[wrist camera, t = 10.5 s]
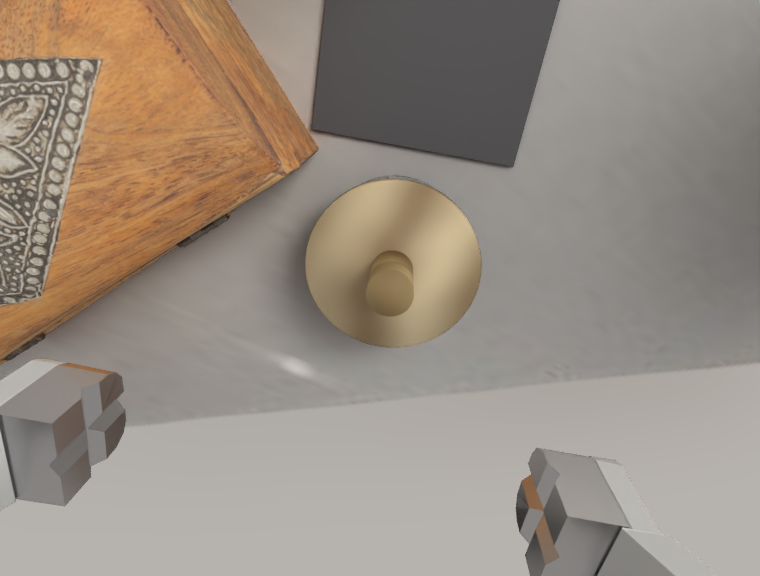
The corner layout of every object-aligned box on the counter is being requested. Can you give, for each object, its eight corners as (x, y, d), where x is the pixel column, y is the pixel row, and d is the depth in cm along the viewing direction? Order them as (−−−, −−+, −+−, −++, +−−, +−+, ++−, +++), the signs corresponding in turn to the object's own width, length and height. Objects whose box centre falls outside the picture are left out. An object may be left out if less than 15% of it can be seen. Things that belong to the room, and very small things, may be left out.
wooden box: (181, -86, 27) (-27, -265, 14) (330, 158, 32) (276, 193, 19) (-115, 171, 34) (-433, 209, 21) (43, 339, 39) (-137, 453, 26)
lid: (499, 196, 27) (518, 215, 22) (456, 353, 31) (464, 396, 26) (319, 163, 27) (300, 174, 22) (300, 324, 31) (281, 362, 26)
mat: (569, -40, 26) (571, -42, 26) (511, 166, 31) (513, 166, 30) (336, -84, 26) (335, -87, 26) (312, 129, 31) (311, 129, 30)
